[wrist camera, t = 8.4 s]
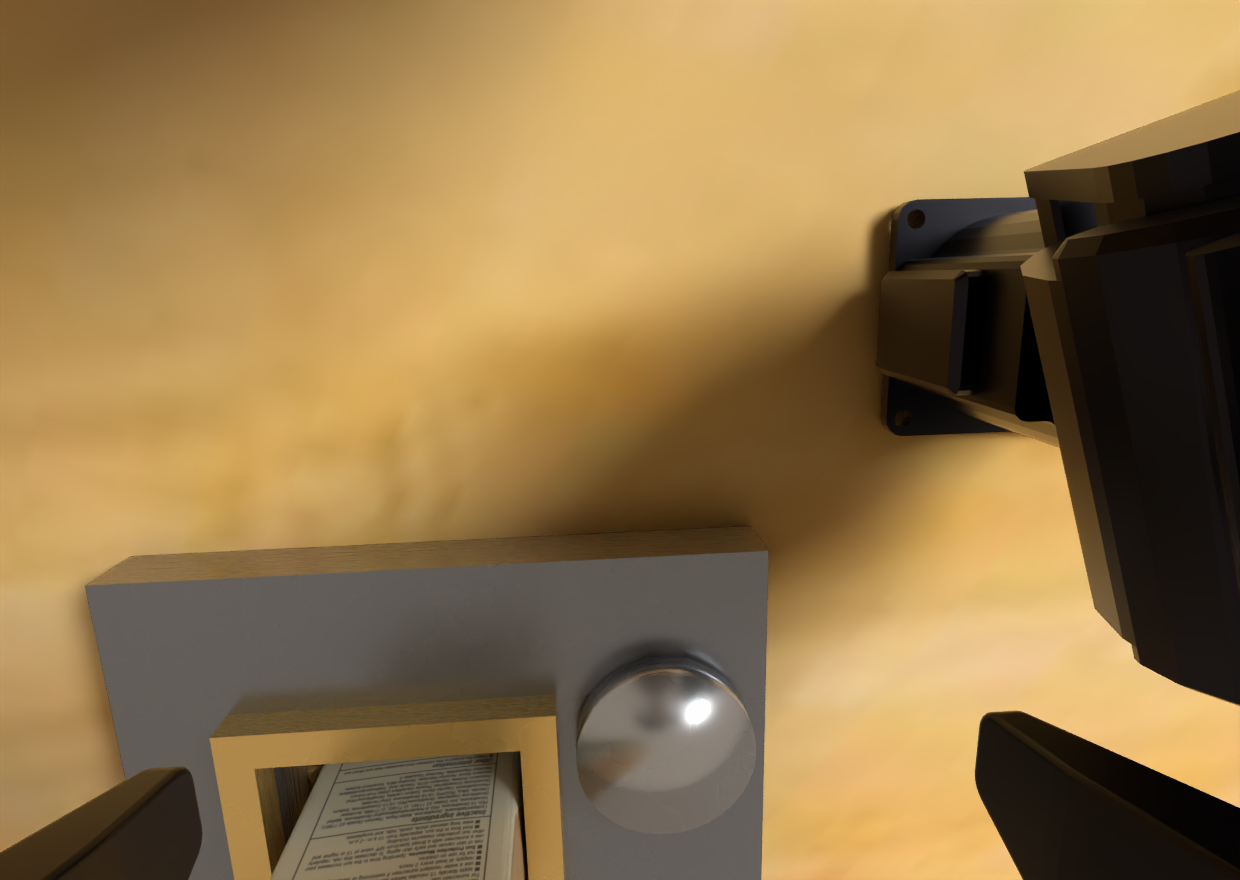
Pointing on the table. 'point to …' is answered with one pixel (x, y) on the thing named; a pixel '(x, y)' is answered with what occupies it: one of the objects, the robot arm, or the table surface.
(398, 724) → the grey slotted board
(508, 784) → the skincare box
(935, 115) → the table surface
